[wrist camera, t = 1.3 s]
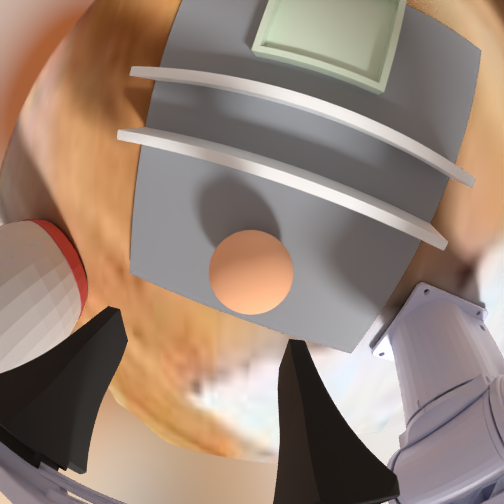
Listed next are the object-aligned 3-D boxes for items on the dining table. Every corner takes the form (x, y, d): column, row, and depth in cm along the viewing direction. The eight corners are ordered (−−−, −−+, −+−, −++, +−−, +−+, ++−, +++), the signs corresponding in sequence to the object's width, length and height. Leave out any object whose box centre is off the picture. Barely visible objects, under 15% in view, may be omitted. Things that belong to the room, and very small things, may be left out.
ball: (307, 233, 17) (304, 273, 13) (282, 294, 19) (271, 342, 15) (232, 208, 17) (204, 237, 13) (216, 271, 20) (189, 313, 15)
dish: (401, 5, 9) (407, -4, 8) (377, 95, 12) (383, 92, 11) (287, -30, 9) (285, -40, 8) (256, 56, 13) (251, 50, 12)
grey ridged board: (474, 52, 9) (504, 43, 6) (350, 345, 21) (352, 380, 18) (204, -32, 10) (182, -56, 7) (136, 268, 23) (110, 291, 19)
